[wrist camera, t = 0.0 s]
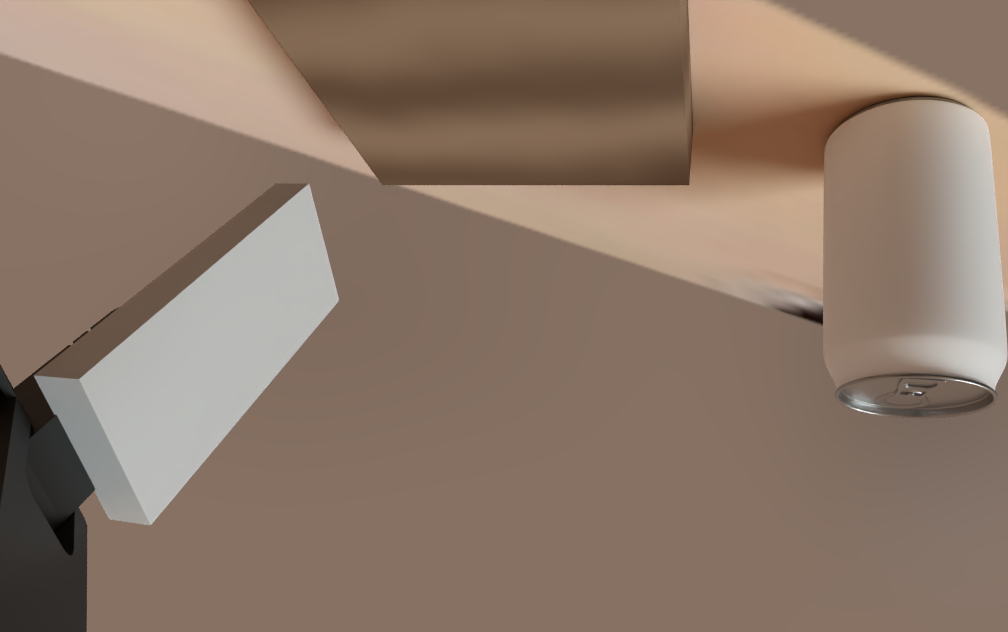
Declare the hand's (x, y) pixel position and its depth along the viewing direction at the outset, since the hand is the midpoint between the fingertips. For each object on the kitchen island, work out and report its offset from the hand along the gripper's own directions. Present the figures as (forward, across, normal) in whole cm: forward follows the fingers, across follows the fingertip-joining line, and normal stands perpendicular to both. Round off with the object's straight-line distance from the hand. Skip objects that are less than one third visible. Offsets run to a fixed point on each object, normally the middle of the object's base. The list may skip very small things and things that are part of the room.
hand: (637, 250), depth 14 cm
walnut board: (+19, -8, 0) cm, 20 cm away
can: (+24, +9, -6) cm, 26 cm away
